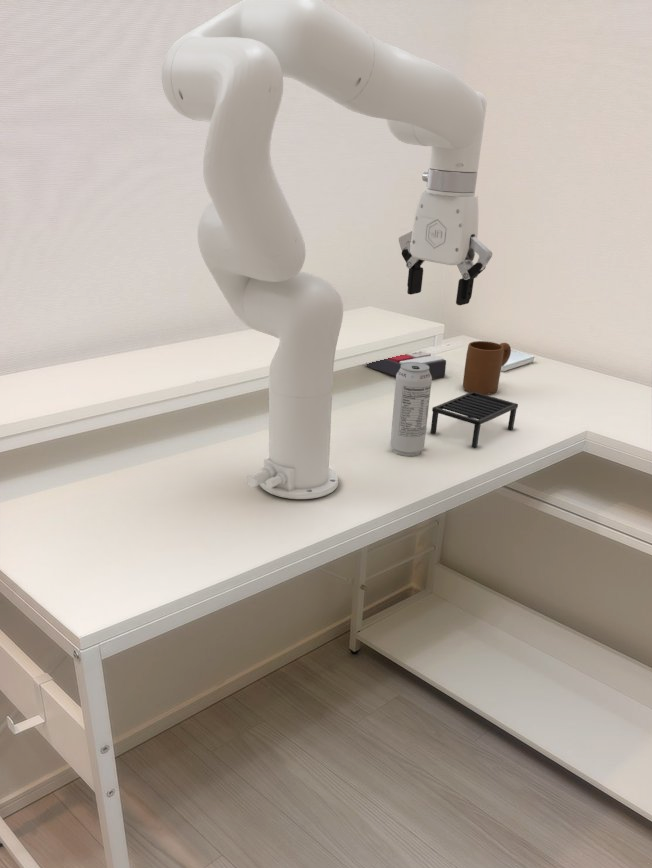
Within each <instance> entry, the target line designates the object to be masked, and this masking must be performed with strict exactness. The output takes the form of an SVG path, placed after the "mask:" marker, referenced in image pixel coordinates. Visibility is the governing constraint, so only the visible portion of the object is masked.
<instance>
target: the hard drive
mask: <svg viewBox="0 0 652 868" xmlns="http://www.w3.org/2000/svg"><path fill="white" fill-rule="evenodd" d="M534 361H535V355H532V354H529V353H525V352H521V351H517V350H513V349H511V354H510V357H509V359H508V361H507V362H506V364H505V365H503V366H501V372H505V371H510V370H512V369H515V368H518V367H521V366H522V367H523V366H524V365H527V364H531V363H534Z"/></svg>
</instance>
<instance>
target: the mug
mask: <svg viewBox="0 0 652 868" xmlns="http://www.w3.org/2000/svg"><path fill="white" fill-rule="evenodd" d="M467 345H468V346H467V350H466V356H465V363H464V371H463V379H462V388H463V390H465V391H466V392H467V393H470V392H472V391H474V392H477V393H481V394H484V395H492V394H494V393H496V392H497V390H498V388H499V383H500V377H501V372H502V371H501V366H503V365H505V364H506V362H507V361H508V359H509V357H510V354H511V350H512V348H511V345H510V344H509V343H507V342H501V343H497V342H493V341H486V340H485V341H484V340H475V341H471V342H469V343H468V344H467Z"/></svg>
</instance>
